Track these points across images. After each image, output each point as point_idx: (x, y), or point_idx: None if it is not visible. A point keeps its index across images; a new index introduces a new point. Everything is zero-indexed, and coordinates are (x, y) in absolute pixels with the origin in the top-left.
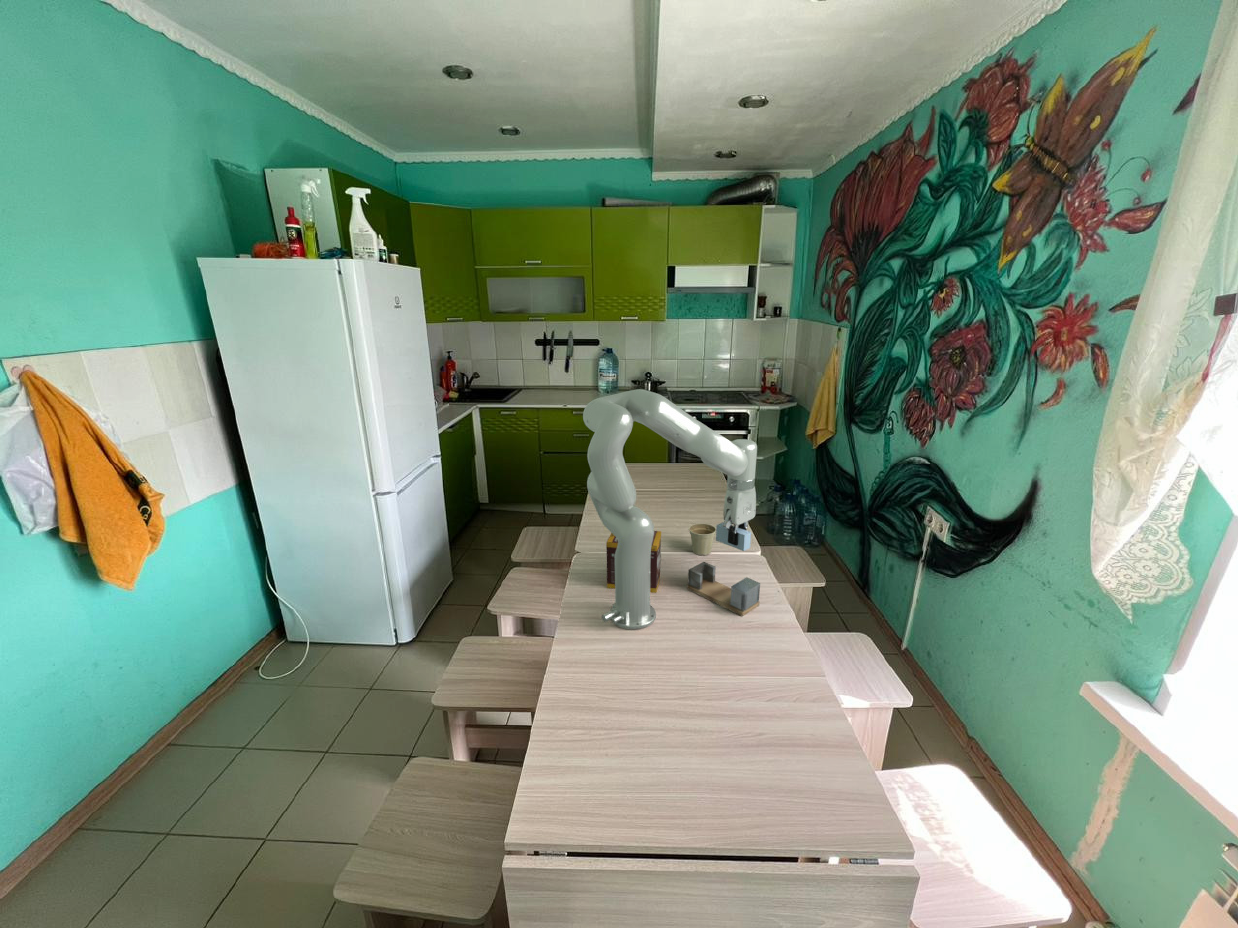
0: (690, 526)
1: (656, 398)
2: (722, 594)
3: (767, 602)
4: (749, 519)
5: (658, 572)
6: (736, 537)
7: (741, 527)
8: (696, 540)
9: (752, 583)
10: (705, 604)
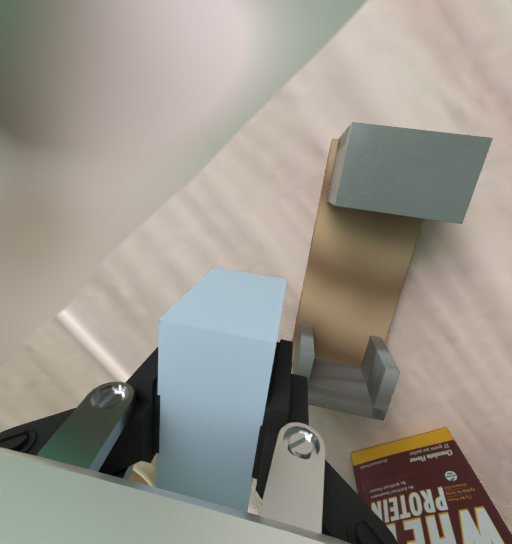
0: None
1: None
2: (363, 267)
3: (294, 126)
4: (48, 475)
5: (433, 482)
6: (289, 386)
7: (149, 425)
8: None
9: (378, 152)
10: (429, 288)
